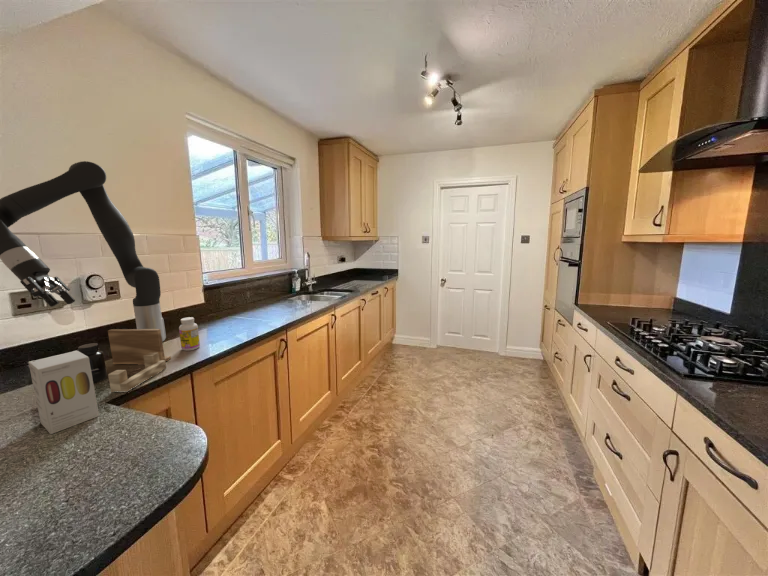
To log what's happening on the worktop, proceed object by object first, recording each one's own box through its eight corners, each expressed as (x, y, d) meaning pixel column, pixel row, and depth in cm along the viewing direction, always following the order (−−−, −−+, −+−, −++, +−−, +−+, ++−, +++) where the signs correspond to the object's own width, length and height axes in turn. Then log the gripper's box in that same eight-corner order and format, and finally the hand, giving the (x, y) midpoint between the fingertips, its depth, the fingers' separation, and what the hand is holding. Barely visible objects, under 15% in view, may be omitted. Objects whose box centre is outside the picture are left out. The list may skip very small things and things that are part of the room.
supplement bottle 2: (177, 349, 129) (173, 319, 126) (192, 344, 135) (189, 315, 132) (189, 352, 126) (185, 321, 124) (203, 346, 132) (200, 317, 130)
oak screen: (124, 359, 120) (118, 326, 117) (171, 358, 120) (166, 326, 117) (113, 364, 115) (107, 330, 112) (161, 364, 115) (156, 330, 112)
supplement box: (49, 435, 75) (35, 370, 72) (39, 423, 80) (25, 361, 77) (101, 415, 83) (89, 356, 80) (88, 405, 88) (77, 349, 85)
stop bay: (152, 368, 111) (149, 352, 110) (166, 368, 111) (163, 352, 110) (111, 392, 95) (108, 374, 94) (127, 392, 95) (124, 374, 94)
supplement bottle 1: (90, 386, 99) (84, 350, 97) (74, 384, 100) (66, 348, 98) (113, 376, 106) (107, 342, 103) (97, 374, 107) (91, 341, 105)
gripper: (20, 256, 95) (61, 298, 98) (52, 258, 108) (87, 295, 112) (-7, 270, 93) (37, 313, 97) (29, 271, 106) (66, 308, 110)
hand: (64, 303), depth 104 cm, fingers open, 8 cm apart
